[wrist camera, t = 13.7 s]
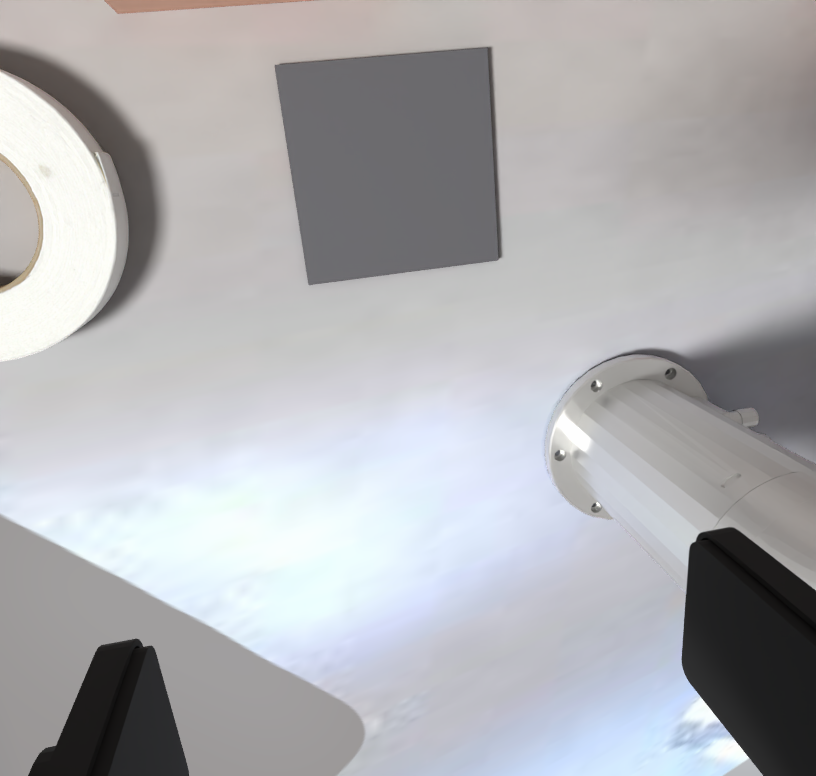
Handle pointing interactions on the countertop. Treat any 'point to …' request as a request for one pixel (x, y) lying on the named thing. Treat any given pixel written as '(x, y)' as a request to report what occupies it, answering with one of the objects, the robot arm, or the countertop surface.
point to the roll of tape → (59, 221)
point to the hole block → (180, 4)
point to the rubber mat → (391, 162)
